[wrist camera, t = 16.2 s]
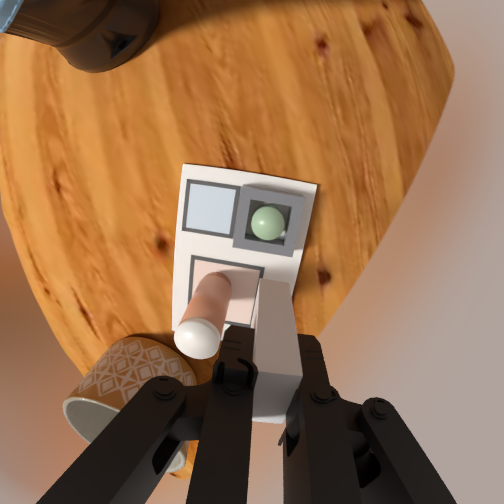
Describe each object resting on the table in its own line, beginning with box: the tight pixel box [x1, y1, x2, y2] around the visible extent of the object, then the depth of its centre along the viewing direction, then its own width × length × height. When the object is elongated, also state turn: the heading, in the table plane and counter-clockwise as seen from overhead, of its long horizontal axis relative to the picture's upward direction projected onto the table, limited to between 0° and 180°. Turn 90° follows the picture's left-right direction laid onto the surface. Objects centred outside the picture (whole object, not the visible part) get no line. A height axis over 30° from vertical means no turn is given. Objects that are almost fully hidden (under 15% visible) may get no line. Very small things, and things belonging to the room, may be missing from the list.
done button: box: [251, 204, 285, 240], centre depth 31 cm, size 4×4×2 cm
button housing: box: [232, 185, 305, 257], centre depth 32 cm, size 7×7×2 cm
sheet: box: [172, 164, 317, 341], centre depth 35 cm, size 16×24×1 cm, turn 171°
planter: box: [63, 337, 197, 473], centre depth 36 cm, size 19×19×16 cm
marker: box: [174, 272, 232, 359], centre depth 30 cm, size 4×4×12 cm
